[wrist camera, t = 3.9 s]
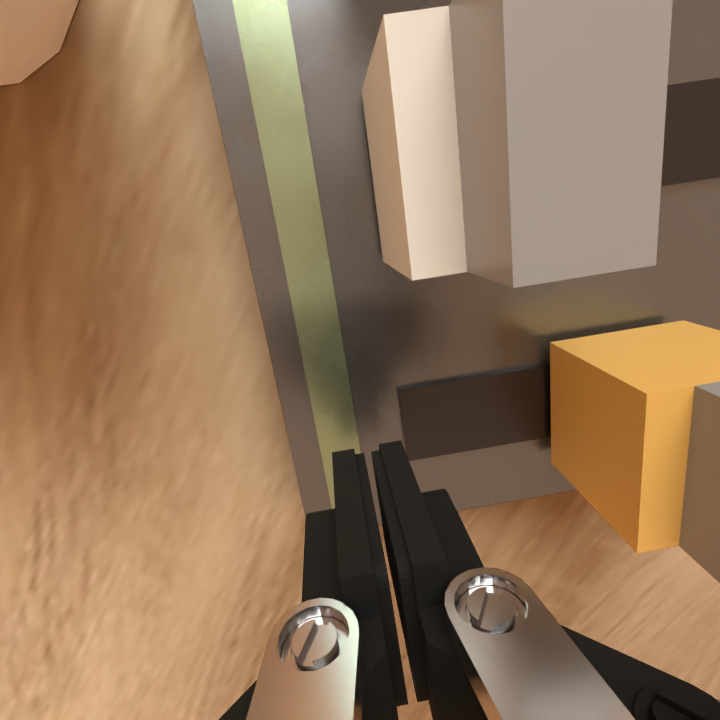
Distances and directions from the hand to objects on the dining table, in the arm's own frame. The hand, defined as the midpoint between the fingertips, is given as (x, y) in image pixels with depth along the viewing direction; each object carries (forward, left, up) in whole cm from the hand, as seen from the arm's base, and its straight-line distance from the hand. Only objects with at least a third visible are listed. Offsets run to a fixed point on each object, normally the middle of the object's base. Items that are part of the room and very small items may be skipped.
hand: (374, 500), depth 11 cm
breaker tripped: (-8, 0, -3) cm, 8 cm away
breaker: (-3, -7, -3) cm, 8 cm away
